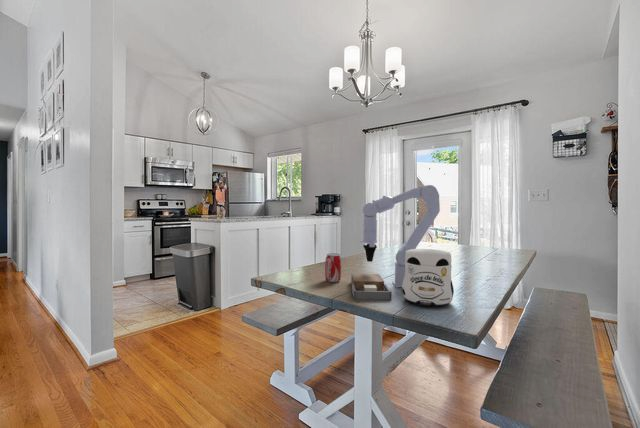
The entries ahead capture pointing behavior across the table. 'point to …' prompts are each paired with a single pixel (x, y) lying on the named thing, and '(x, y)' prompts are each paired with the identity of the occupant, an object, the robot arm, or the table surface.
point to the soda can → (333, 267)
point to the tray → (372, 294)
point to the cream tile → (370, 288)
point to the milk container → (428, 277)
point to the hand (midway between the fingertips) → (369, 261)
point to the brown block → (367, 281)
